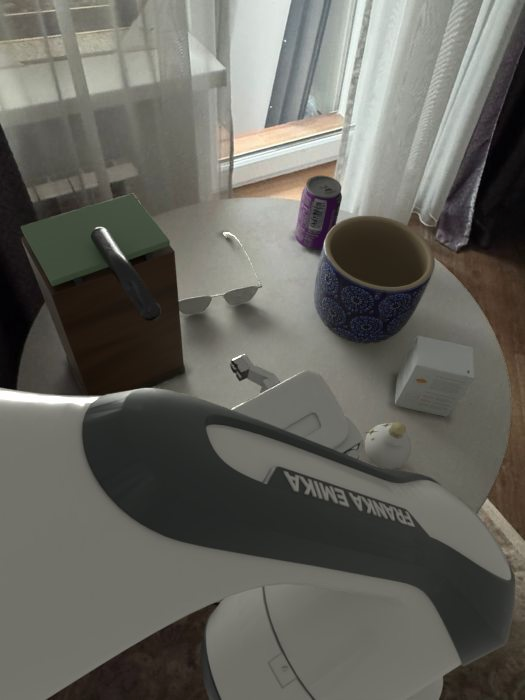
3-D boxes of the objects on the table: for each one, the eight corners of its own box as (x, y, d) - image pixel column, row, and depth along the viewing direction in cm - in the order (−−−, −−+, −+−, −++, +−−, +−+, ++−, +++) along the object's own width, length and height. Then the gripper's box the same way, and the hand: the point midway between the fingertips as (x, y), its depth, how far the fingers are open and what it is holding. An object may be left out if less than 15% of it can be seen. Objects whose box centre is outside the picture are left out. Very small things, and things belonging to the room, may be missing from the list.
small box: (447, 388, 78) (475, 346, 70) (447, 418, 75) (476, 378, 66) (395, 376, 79) (417, 333, 70) (393, 406, 75) (415, 365, 67)
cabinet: (185, 372, 76) (175, 246, 56) (94, 414, 71) (48, 290, 51) (155, 327, 81) (136, 196, 61) (68, 362, 75) (17, 231, 56)
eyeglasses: (172, 319, 82) (170, 302, 79) (149, 246, 92) (146, 229, 89) (261, 300, 86) (263, 284, 83) (229, 233, 96) (230, 216, 93)
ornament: (409, 473, 69) (434, 439, 61) (357, 480, 68) (376, 447, 60) (395, 434, 72) (417, 397, 64) (345, 440, 71) (362, 403, 63)
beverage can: (338, 244, 96) (352, 190, 87) (309, 257, 94) (320, 203, 84) (316, 223, 100) (327, 169, 90) (287, 235, 97) (295, 180, 87)
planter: (332, 366, 79) (352, 301, 67) (294, 291, 88) (306, 223, 76) (423, 344, 83) (458, 279, 71) (378, 275, 92) (402, 207, 80)
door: (215, 305, 51) (216, 285, 49) (90, 356, 46) (84, 338, 44) (133, 198, 61) (130, 178, 59) (22, 231, 56) (14, 211, 54)
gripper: (384, 436, 42) (291, 317, 47) (163, 578, 34) (80, 416, 40) (362, 462, 47) (280, 353, 53) (165, 590, 39) (92, 446, 45)
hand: (193, 380), depth 46 cm, fingers open, 8 cm apart
